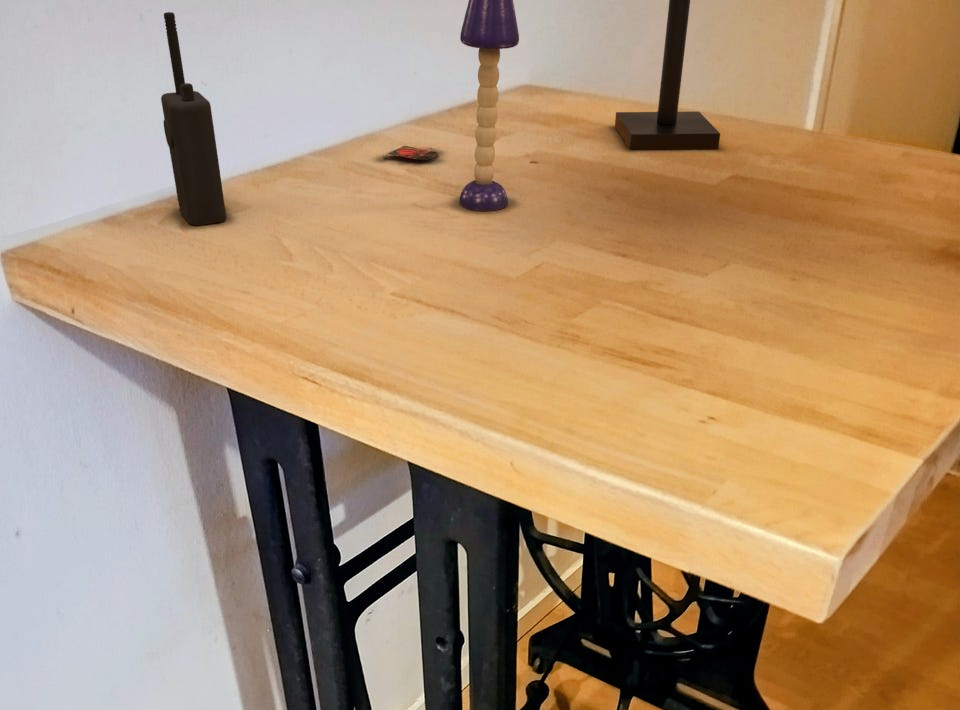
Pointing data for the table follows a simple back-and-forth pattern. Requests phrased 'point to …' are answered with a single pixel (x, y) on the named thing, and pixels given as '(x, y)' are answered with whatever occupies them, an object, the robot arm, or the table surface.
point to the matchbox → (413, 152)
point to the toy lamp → (487, 94)
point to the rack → (669, 101)
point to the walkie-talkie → (191, 143)
